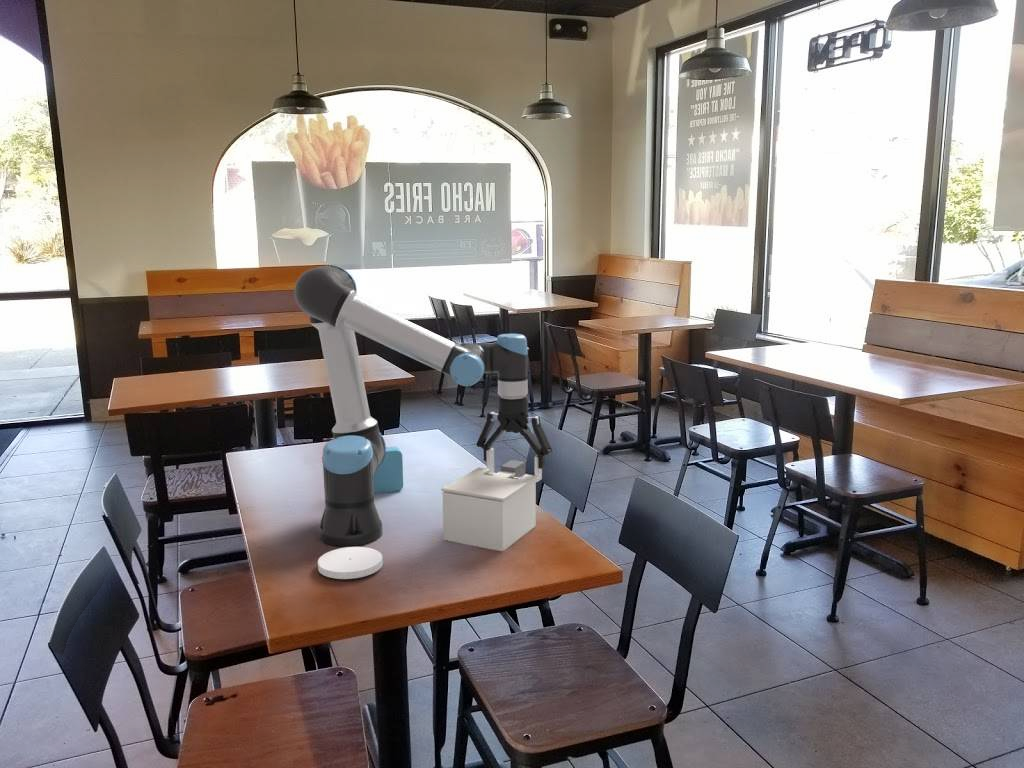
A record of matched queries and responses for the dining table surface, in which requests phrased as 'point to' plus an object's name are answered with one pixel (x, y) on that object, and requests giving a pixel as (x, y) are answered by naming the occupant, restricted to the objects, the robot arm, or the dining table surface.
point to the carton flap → (492, 482)
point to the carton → (489, 518)
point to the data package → (389, 472)
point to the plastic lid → (350, 562)
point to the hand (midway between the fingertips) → (514, 477)
